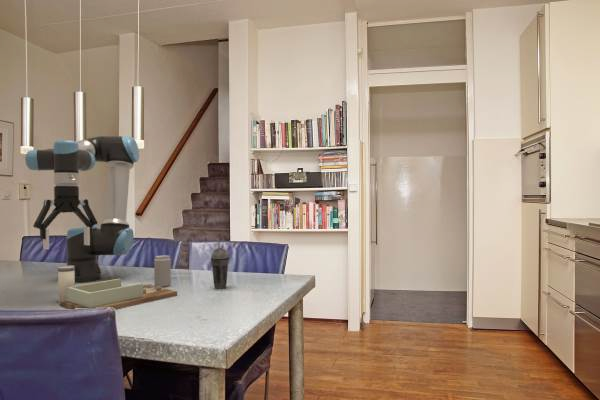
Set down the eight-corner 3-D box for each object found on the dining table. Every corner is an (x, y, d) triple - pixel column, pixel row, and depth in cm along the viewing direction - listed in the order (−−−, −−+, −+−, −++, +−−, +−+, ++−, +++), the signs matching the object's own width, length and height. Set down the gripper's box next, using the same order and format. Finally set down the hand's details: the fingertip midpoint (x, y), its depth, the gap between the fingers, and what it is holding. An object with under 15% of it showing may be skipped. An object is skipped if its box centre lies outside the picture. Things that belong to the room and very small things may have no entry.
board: (59, 305, 142) (59, 296, 142) (145, 288, 168) (145, 280, 168) (89, 315, 130) (89, 305, 130) (177, 295, 155) (177, 287, 155)
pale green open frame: (66, 300, 142) (66, 287, 142) (119, 290, 156) (119, 278, 156) (89, 307, 132) (88, 293, 132) (143, 296, 147) (142, 283, 147)
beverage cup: (233, 286, 170) (232, 236, 170) (223, 290, 163) (223, 238, 163) (216, 285, 172) (216, 235, 172) (207, 289, 166) (206, 237, 165)
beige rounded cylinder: (55, 301, 147) (55, 266, 147) (70, 298, 151) (70, 265, 151) (62, 303, 144) (61, 268, 144) (77, 300, 148) (77, 266, 148)
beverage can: (166, 287, 169) (165, 257, 169) (151, 287, 170) (150, 257, 170) (173, 284, 175) (173, 255, 175) (159, 283, 176) (159, 254, 176)
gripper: (31, 184, 135) (32, 251, 136) (107, 185, 155) (107, 244, 155) (21, 185, 140) (22, 249, 140) (96, 186, 160) (97, 242, 160)
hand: (67, 247), depth 148 cm, fingers open, 13 cm apart
